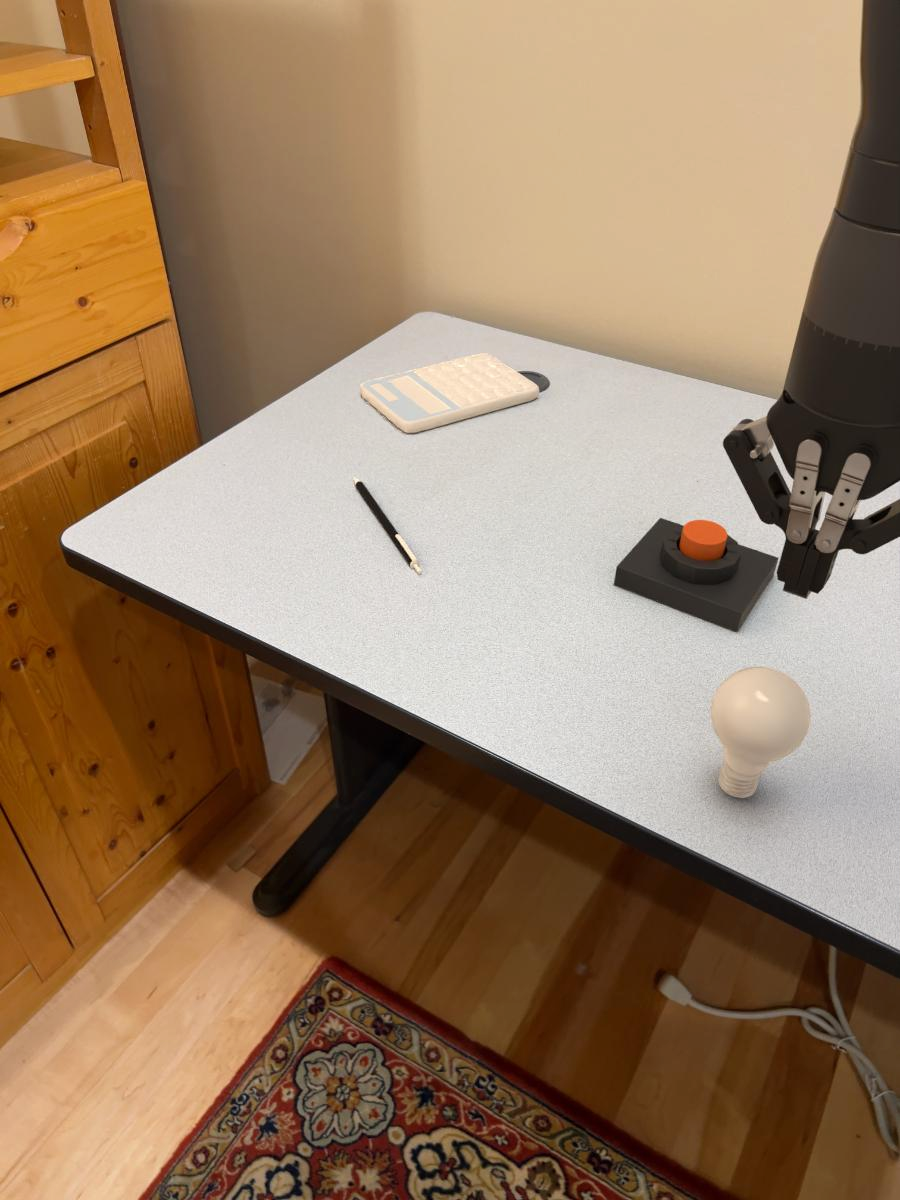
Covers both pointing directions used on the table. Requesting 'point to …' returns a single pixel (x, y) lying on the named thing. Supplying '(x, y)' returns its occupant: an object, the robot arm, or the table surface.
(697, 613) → the housing
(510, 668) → the table surface
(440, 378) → the calculator
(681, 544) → the button
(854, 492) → the robot arm
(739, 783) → the lightbulb
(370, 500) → the pen
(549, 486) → the table surface
